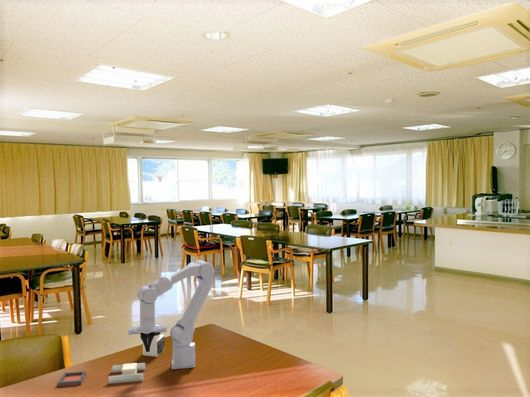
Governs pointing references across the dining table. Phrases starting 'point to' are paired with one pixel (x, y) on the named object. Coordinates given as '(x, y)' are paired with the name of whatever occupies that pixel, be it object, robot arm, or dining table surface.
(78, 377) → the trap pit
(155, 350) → the medicine bottle
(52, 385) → the dining table surface
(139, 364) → the channel
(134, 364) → the block
